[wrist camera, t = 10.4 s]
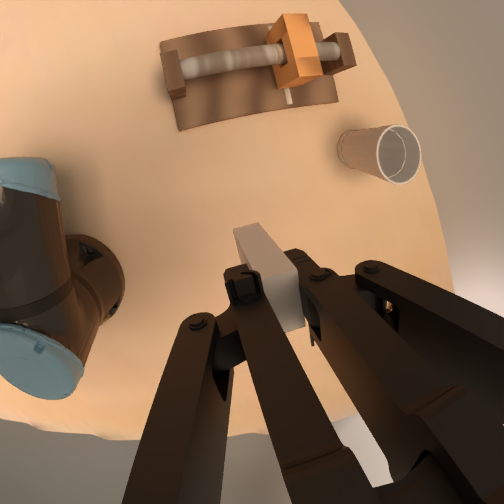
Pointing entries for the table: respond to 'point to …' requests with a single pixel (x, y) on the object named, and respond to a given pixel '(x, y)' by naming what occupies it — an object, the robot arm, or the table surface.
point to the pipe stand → (243, 73)
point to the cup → (382, 152)
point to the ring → (295, 51)
